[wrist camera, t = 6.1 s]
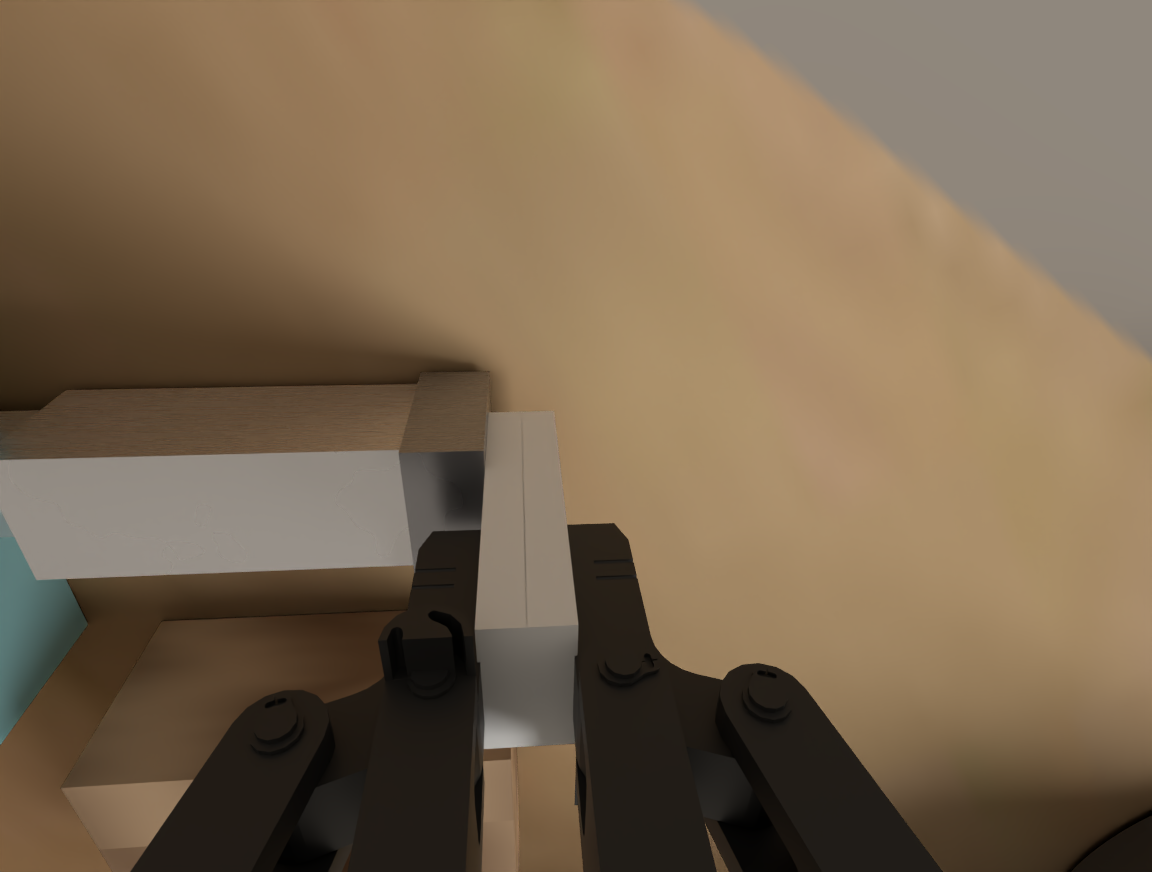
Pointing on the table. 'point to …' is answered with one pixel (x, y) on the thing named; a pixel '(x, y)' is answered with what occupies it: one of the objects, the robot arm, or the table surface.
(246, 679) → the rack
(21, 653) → the socket block
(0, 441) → the pale gray faceted bar
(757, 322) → the table surface
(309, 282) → the table surface
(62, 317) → the table surface
